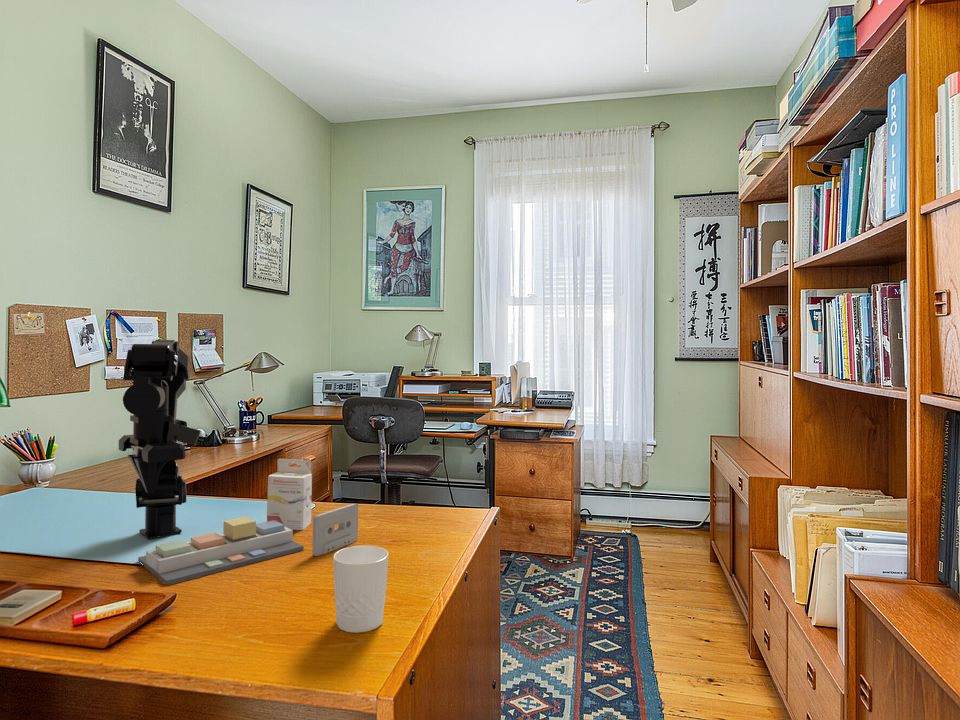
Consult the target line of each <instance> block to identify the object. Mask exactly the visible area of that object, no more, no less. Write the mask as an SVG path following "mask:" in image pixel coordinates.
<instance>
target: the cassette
mask: <svg viewBox="0 0 960 720" xmlns="http://www.w3.org/2000/svg"><path fill="white" fill-rule="evenodd" d="M337 525H338V527H337V528H335V526H337ZM358 539H359V504H358V503H357V502H356V503H351V504H348V505H345V506H341V507H339V508H338V507H337V508H335V509H332V510H328V511H325V512H322V513H319V514H316V515H313V517H312V550H311V551H312V556H315V557H319V556H321V555H326V554H328V553H330V552H333V551H335V550H338V549H341V548H344V547H345V546H347V545H350V544H353V543H354V542H356V541H358Z"/></svg>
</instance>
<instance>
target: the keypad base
mask: <svg viewBox="0 0 960 720" xmlns="http://www.w3.org/2000/svg"><path fill="white" fill-rule="evenodd" d="M219 535H220V536H222V537H224V538H225V544H224V545H220V546H215V547H211V548H207V549H202V550H197V549H196V548H194V547H193V546H191V552H189V553H185V554H180V555H176V556H171V557H167V558H161V557H160V556H159V555H157V554H156V548H153V549H148V550H145V555H142V556H138V557H137V562H138V561H139V562H141V563H142V564H143V565H144V566H143V565H142V564H141V565H142V566H143V567H144V568H145V569H146V570H147V571H149V572H150V573H151V574H152V575H154V577H156V578H157V579H158V580H159V581H161V582H162V583H163V584H164V585H165V586H169V585H174V584H178V583H181V582H186V581H190V580H193V579H196V578H202V577H204V576H208V575H213V574H216V573H220V572H223V571H224V572H225V571H227V570H231V569H235V568H240V567H244V566H247V565H252V564H255V563H259V562H263V561H267V560H270V559H273V558H278V557H282V556H285V555H290V554H293V553H294V554H295V553H298V552H300V551H304V545H303V544H300V543H298V542H296V541H294V539H293V538H294V530H291V529H289V528H287V527H285V526H284V531H282V532H277V533H273V534H268V535H264V536H262V535H260V534H258V533H256V535H252V536H247V537H243V538H238V539H234V540H233V539H231V538H229V537H227V536H226V535H224V534H219ZM185 542H186V543H188V544H190V545H191V540H190V541H185ZM139 562H138V563H139Z"/></svg>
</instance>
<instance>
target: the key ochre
mask: <svg viewBox="0 0 960 720" xmlns="http://www.w3.org/2000/svg"><path fill="white" fill-rule="evenodd" d="M256 524H257V521H256V520H253V519H252V518H249V517H248V516H241V517H237V518H233V519H232V518H231V519H226V520H223V534H224V535H226V536H227V537H229V538H231V539H233V540H234V539H238V538H243V537H247V536H252V535H256ZM223 534H222V535H223Z"/></svg>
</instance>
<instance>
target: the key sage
mask: <svg viewBox="0 0 960 720" xmlns="http://www.w3.org/2000/svg"><path fill="white" fill-rule="evenodd" d="M186 542H187V541H184V540H183V539H178V540H173V541H168V542H163V543H159V544H155V549H156V554H157V555H159V556H160V557H161V558H167V557H171V556H176V555H180V554H185V553H189V552H191V545H190V544H188V543H186Z"/></svg>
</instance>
